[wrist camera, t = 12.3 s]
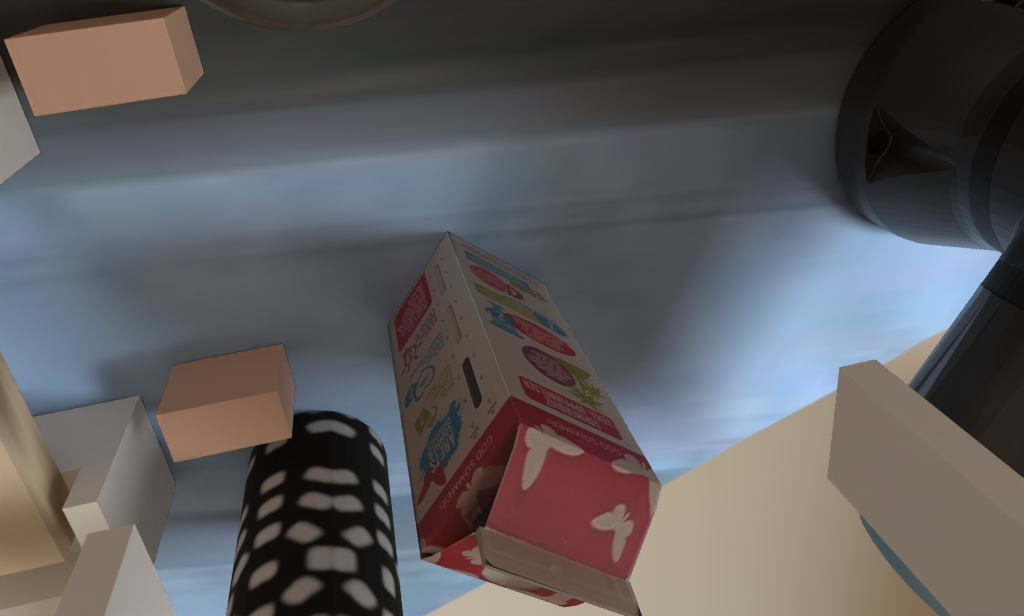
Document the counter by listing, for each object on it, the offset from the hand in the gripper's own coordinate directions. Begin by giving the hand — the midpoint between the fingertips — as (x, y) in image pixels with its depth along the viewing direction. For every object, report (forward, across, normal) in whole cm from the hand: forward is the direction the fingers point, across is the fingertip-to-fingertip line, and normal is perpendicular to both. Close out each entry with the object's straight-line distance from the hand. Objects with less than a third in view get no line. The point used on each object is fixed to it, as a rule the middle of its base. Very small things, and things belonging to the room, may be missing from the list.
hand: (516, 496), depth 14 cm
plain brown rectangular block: (+29, +12, +3) cm, 31 cm away
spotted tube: (+29, +8, +20) cm, 36 cm away
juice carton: (+29, -2, +11) cm, 31 cm away
